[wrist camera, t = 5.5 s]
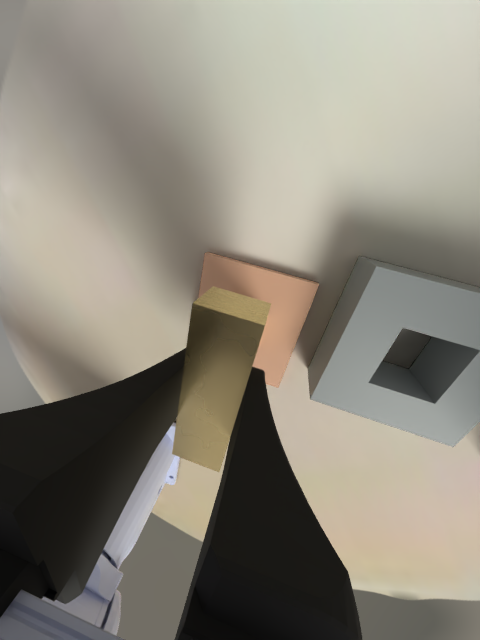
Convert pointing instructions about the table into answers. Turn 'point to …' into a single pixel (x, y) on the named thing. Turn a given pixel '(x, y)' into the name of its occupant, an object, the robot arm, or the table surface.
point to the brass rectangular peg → (216, 372)
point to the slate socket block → (378, 336)
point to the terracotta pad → (273, 287)
